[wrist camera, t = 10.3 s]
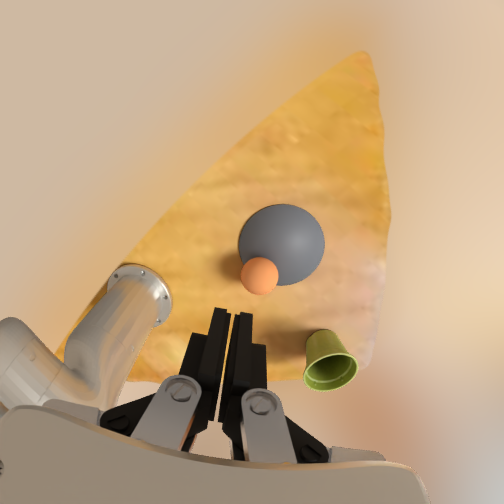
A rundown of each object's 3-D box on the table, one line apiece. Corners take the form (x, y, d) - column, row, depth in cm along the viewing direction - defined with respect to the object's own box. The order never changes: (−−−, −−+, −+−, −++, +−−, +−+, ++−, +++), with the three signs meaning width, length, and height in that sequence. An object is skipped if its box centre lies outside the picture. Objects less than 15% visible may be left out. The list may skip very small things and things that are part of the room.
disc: (301, 295, 44) (301, 296, 44) (226, 267, 42) (226, 268, 42) (338, 225, 40) (338, 225, 39) (259, 190, 38) (259, 190, 38)
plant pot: (347, 317, 46) (361, 348, 38) (344, 355, 49) (355, 386, 41) (296, 325, 46) (302, 358, 38) (298, 362, 50) (303, 395, 42)
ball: (250, 306, 40) (279, 295, 37) (227, 278, 39) (255, 263, 36) (262, 285, 44) (289, 273, 41) (242, 259, 43) (268, 244, 40)
